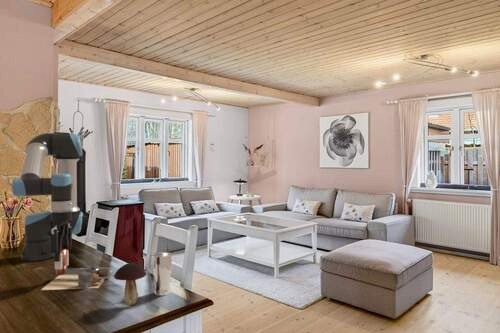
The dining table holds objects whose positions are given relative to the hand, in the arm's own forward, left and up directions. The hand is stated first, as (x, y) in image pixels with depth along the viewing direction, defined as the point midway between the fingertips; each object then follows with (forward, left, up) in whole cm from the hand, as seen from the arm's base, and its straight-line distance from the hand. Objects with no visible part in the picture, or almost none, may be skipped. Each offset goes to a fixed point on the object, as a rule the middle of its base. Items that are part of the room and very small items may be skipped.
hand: (61, 266), depth 143 cm
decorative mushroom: (+26, +33, -7) cm, 42 cm away
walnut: (+6, +14, -5) cm, 17 cm away
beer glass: (+16, +43, -7) cm, 46 cm away
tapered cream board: (+1, +7, -7) cm, 10 cm away
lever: (+1, +9, -4) cm, 10 cm away
